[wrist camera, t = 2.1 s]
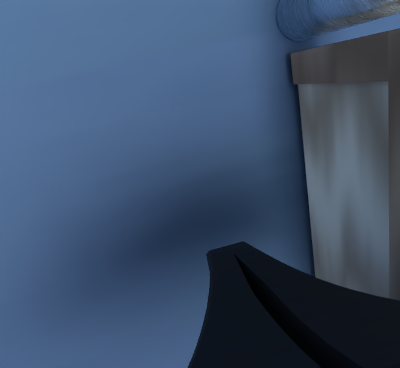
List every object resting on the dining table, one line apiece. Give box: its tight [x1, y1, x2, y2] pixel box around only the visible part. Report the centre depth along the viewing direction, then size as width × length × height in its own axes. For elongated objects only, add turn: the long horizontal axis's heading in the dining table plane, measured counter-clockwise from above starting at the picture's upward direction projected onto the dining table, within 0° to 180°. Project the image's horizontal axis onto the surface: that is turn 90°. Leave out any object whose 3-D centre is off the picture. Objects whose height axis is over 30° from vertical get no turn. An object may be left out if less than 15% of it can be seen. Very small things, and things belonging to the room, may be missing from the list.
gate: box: [290, 28, 400, 300], centre depth 13 cm, size 18×2×6 cm, turn 11°
